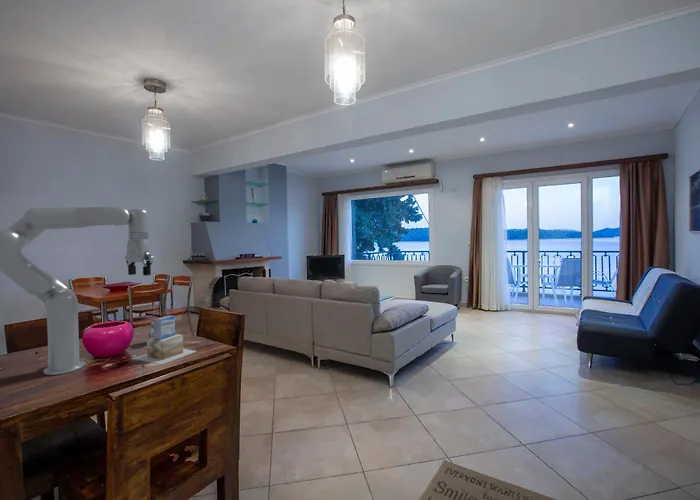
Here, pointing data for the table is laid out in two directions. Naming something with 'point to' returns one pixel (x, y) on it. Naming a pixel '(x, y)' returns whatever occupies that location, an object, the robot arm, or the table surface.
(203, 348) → the table surface
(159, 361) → the base board
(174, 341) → the birch slab
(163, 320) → the medicine box
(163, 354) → the oak slab
